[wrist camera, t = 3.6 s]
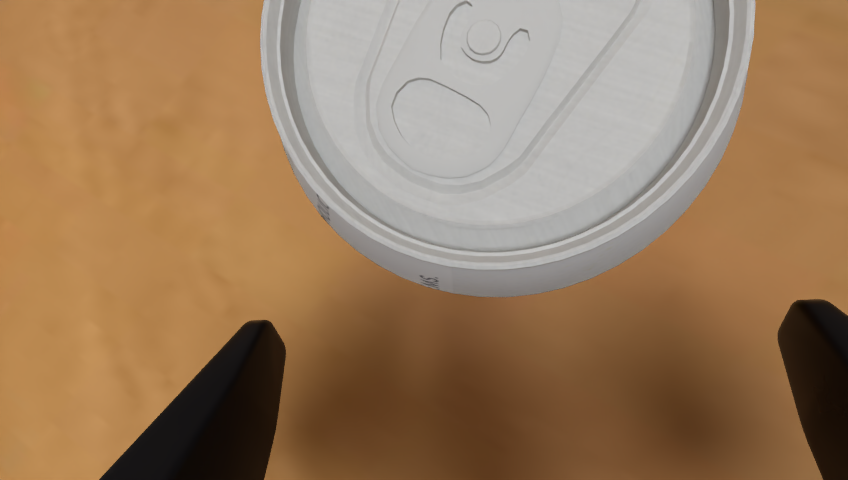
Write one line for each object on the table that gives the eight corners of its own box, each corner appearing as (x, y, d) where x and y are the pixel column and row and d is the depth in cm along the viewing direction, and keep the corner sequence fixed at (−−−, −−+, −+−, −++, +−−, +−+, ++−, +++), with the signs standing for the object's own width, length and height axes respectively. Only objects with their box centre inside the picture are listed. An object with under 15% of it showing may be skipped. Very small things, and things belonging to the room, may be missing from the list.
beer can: (615, 151, 20) (931, -128, 5) (534, 290, 20) (599, 418, 5) (476, 80, 21) (385, -338, 6) (402, 214, 21) (142, 143, 6)
